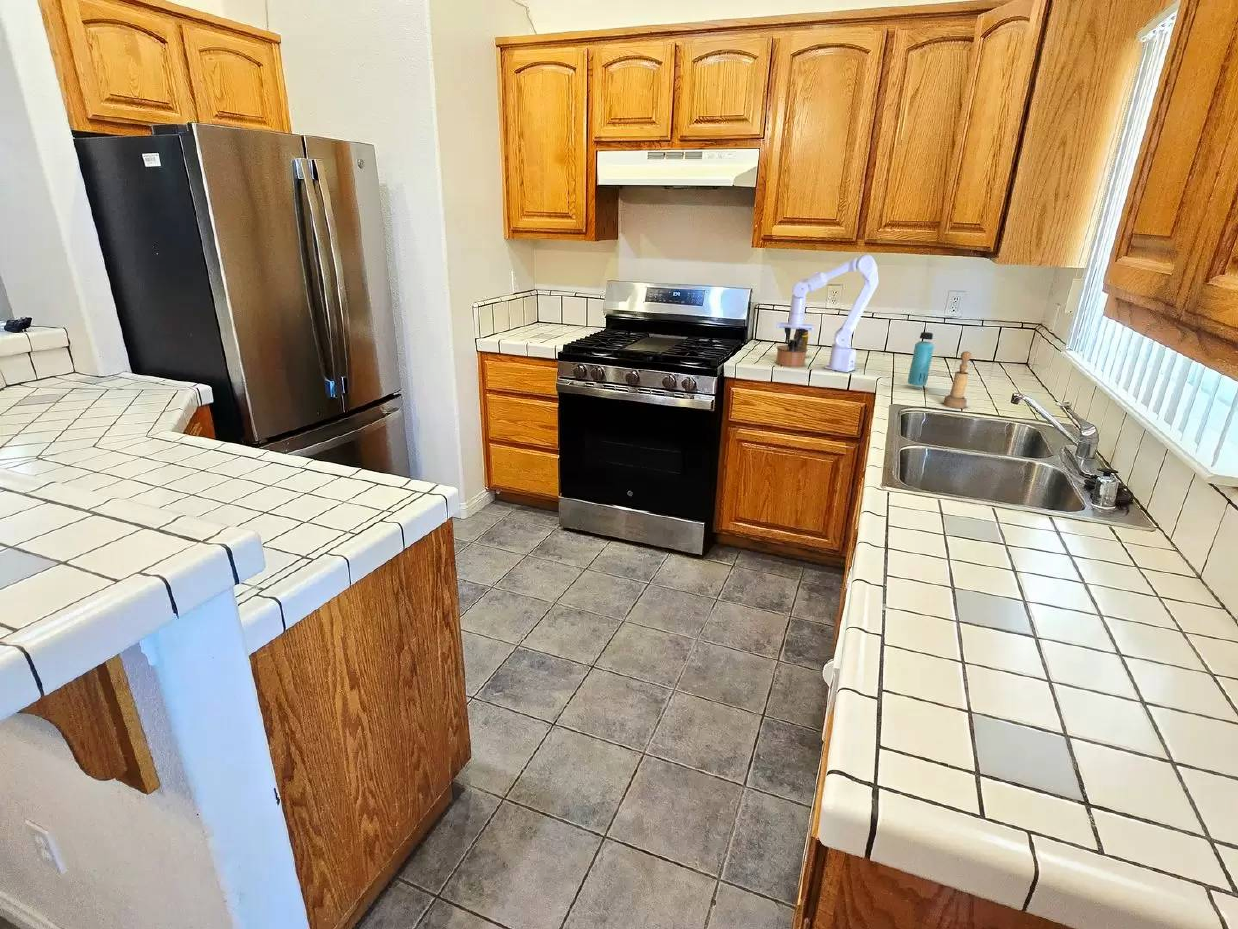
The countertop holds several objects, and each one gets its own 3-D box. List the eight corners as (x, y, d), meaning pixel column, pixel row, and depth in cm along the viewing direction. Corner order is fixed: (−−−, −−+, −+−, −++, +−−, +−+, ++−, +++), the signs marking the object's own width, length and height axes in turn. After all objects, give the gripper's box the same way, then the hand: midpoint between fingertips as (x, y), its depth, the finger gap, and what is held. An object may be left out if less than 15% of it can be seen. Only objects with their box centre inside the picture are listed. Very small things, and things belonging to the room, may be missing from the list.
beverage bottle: (916, 390, 232) (928, 334, 225) (902, 385, 237) (913, 331, 230) (929, 389, 234) (941, 333, 227) (915, 384, 240) (926, 330, 233)
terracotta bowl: (809, 364, 266) (811, 350, 264) (795, 368, 258) (797, 353, 256) (785, 359, 273) (787, 345, 271) (770, 363, 266) (772, 348, 263)
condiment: (809, 356, 281) (813, 328, 276) (798, 359, 275) (803, 330, 271) (794, 353, 286) (798, 326, 281) (784, 355, 280) (787, 328, 276)
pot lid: (812, 351, 264) (814, 340, 262) (797, 355, 256) (799, 344, 254) (786, 346, 272) (787, 335, 270) (770, 350, 264) (772, 339, 262)
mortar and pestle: (944, 406, 213) (956, 352, 207) (942, 401, 219) (954, 348, 212) (966, 409, 211) (979, 354, 204) (964, 404, 217) (977, 350, 210)
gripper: (815, 313, 260) (810, 346, 265) (778, 310, 263) (774, 343, 268) (816, 315, 254) (810, 349, 259) (778, 312, 257) (773, 346, 262)
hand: (792, 346), depth 263 cm, fingers open, 3 cm apart
